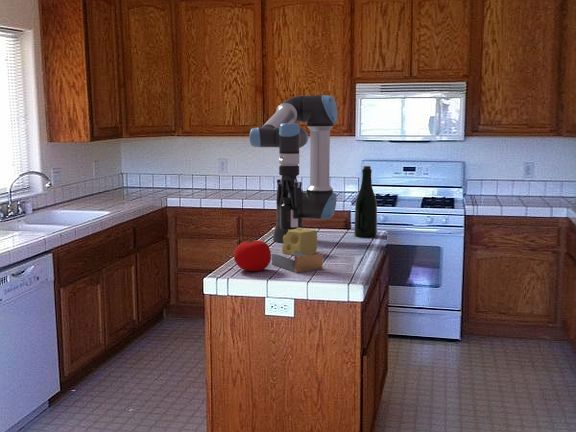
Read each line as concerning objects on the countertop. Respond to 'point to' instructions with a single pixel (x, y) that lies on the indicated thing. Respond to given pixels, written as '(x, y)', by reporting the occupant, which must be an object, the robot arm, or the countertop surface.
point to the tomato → (252, 255)
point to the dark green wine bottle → (366, 207)
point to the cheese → (300, 241)
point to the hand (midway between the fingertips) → (288, 225)
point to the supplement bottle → (286, 214)
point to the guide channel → (299, 262)
